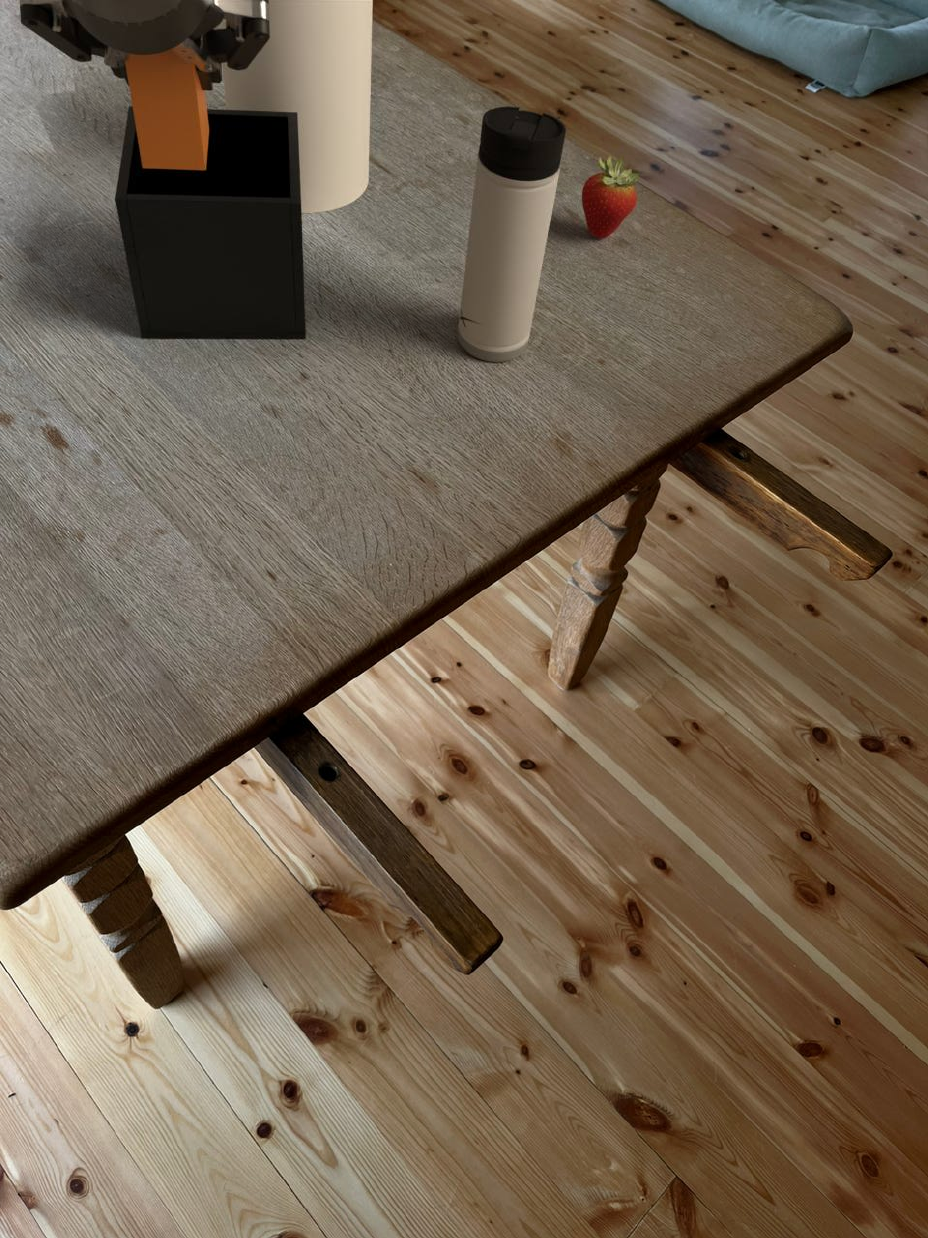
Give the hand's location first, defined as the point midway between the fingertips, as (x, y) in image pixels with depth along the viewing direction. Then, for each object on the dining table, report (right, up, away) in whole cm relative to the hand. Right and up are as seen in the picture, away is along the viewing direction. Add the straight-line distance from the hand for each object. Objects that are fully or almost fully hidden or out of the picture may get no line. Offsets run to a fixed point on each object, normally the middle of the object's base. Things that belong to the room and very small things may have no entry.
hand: (170, 71), depth 65 cm
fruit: (+32, +2, +35) cm, 48 cm away
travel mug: (+21, -11, +24) cm, 34 cm away
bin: (-2, -6, +24) cm, 25 cm away
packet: (0, -4, +2) cm, 5 cm away
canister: (+2, +9, +37) cm, 38 cm away
